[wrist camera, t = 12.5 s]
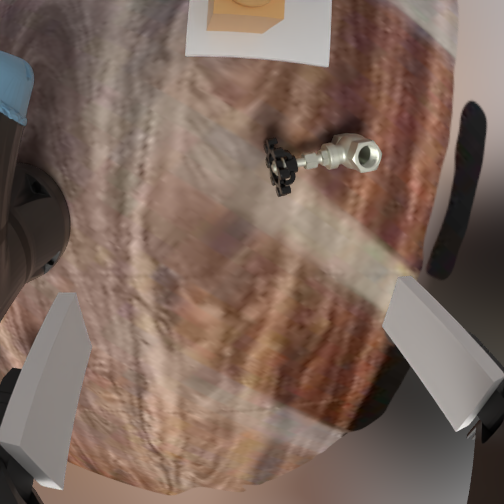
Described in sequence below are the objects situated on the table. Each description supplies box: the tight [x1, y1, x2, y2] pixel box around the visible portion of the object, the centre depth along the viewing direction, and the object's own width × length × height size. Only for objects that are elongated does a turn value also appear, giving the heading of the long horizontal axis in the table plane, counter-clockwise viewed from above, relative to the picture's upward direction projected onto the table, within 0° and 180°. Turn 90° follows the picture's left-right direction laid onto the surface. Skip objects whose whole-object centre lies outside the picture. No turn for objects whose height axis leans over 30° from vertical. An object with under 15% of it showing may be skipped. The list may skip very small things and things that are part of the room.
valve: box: [264, 133, 382, 197], centre depth 34 cm, size 7×7×12 cm
